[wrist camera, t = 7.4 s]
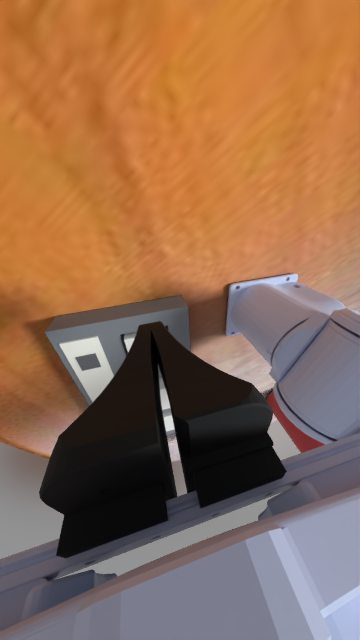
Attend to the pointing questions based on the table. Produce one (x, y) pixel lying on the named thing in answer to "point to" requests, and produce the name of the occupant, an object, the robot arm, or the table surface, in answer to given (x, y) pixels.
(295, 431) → the beer can
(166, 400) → the key middle
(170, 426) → the key
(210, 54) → the table surface
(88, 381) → the button board
